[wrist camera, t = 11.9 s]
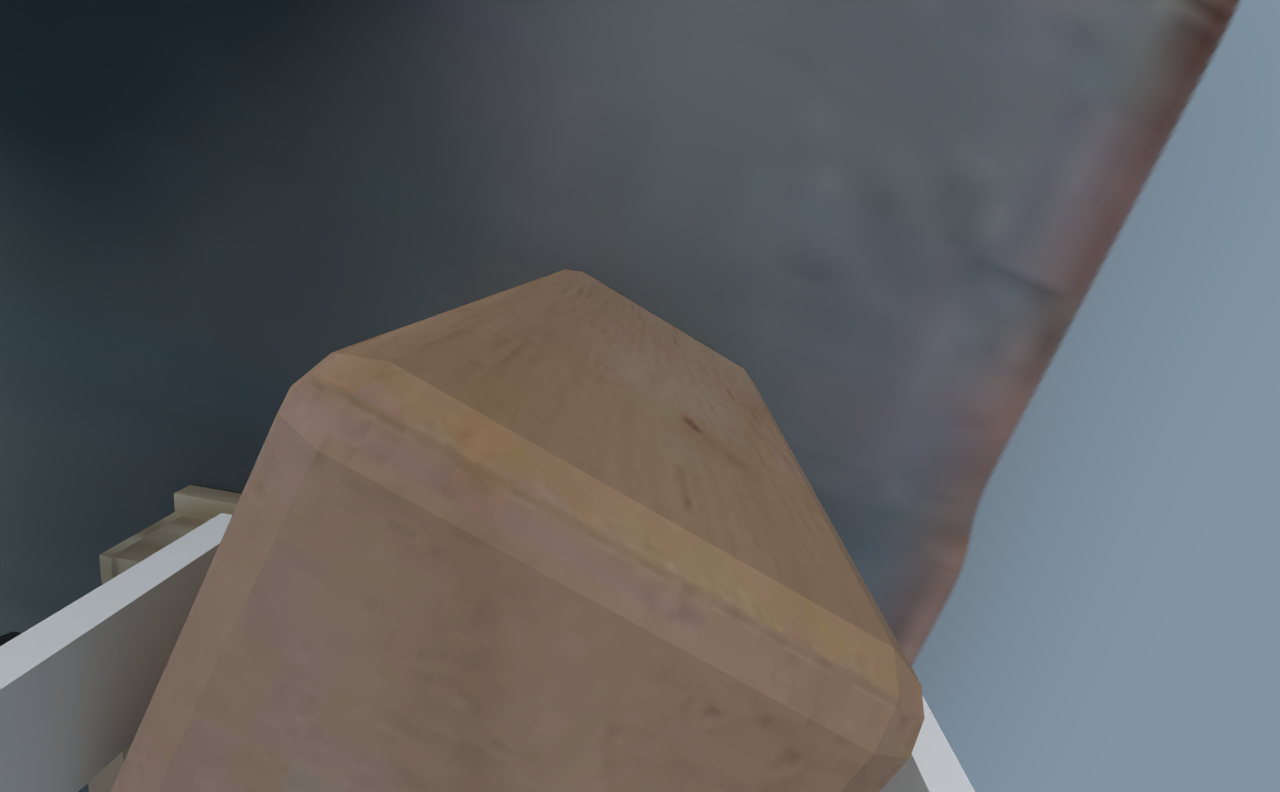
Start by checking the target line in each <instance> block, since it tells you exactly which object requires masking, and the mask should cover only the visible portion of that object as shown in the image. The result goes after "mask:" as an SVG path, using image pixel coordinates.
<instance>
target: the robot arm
mask: <svg viewBox="0 0 1280 792" xmlns="http://www.w3.org/2000/svg"><path fill="white" fill-rule="evenodd" d="M231 517H232V515H231V514H225V513H221V514H219V515H217V516H216V517H214V518H212V519H211V520H209V521H207V522H206V523H204V524H202V525H201V526H199V527H197V528H196V529H194V530H192V531H191V532H189V533H187V534H186V535H184V536H182V537H181V538H179V539H178V540H176V541H174V542H173V543H171V544H169V545H168V546H166V547H164V548H163V549H161V550H159V551H158V552H156V553H154V554H153V555H151V556H149V557H148V558H146V559H144V560H143V561H141V562H139V563H138V564H136V565H134V566H133V567H131V568H129V569H128V570H126V571H124V572H123V573H121V574H119V575H118V576H116V577H115V578H113V579H111V580H110V581H108V582H106V583H105V584H103V585H101V586H100V587H98V588H96V589H95V590H93V591H91V592H90V593H88V594H86V595H85V596H83V597H81V598H80V599H78V600H76V601H75V602H73V603H71V604H70V605H68V606H66V607H65V608H63V609H61V610H60V611H58V612H56V613H55V614H53V615H52V616H50V617H48V618H47V619H45V620H43V621H42V622H40V623H38V624H37V625H35V626H33V627H32V628H30V629H28V630H27V631H25V632H23V633H19V632H10V633H8V634H5V635H3V636H0V792H79V791H80V790H81V789H82V788H83V787H84V786H85V785H86V784H87V783H88V782H90V781H91V780H92V779H93V778H94V777H95V776H96V775H97V774H98V773H99V772H100V771H101V770H102V769H104V768H105V767H106V766H107V765H108V764H109V763H110V762H111V761H112V760H113V759H114V758H115V757H116V756H118V755H119V754H120V753H121V752H122V751H123V750H124V749H125V748H126V747H127V746H128V745H129V744H131V743H132V742H133V740H134V738H135V735H136V733H137V731H138V728H139V726H140V724H141V722H142V719H143V717H144V715H145V713H146V710H147V708H148V706H149V703H150V701H151V699H152V697H153V694H154V692H155V690H156V688H157V685H158V683H159V681H160V678H161V676H162V674H163V672H164V669H165V667H166V665H167V663H168V660H169V658H170V656H171V653H172V651H173V649H174V647H175V644H176V642H177V640H178V638H179V635H180V633H181V631H182V629H183V626H184V624H185V622H186V619H187V617H188V615H189V613H190V610H191V608H192V606H193V604H194V601H195V599H196V597H197V594H198V592H199V590H200V588H201V585H202V583H203V581H204V579H205V576H206V574H207V572H208V569H209V567H210V565H211V563H212V560H213V558H214V556H215V554H216V551H217V549H218V547H219V544H220V542H221V540H222V538H223V535H224V533H225V531H226V529H227V526H228V524H229V522H230V520H231ZM922 698H923V696H922ZM923 708H924V717H925V719H924V721H923V724H922V727H921V729H920V732H919V735H918V738H917V740H916V743H915V746H914V748H913V751H912V754H911V757H910V759H909V760H908V761H907V762H906V764H905V765H904V766H903V767H902V768H901V769H900V770H899V771H898V772H897V773H896V774H895V775H894V776H893V777H892V779H891V780H890V781H889V782H888V783H887V784H886V785H885V786H884V787H883V788H882V789H881V790H880V791H879V792H975V791H974V789H973V787H972V785H971V784H970V782H969V780H968V778H967V776H966V775H965V773H964V771H963V769H962V767H961V766H960V763H959V762H958V760H957V758H956V756H955V754H954V752H953V751H952V749H951V747H950V745H949V743H948V742H947V740H946V738H945V736H944V734H943V733H942V731H941V729H940V727H939V725H938V723H937V721H936V720H935V718H934V716H933V714H932V712H931V711H930V709H929V707H928V705H927V703H926V701H925V700H924V698H923Z"/></svg>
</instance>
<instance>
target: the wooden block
mask: <svg viewBox="0 0 1280 792" xmlns="http://www.w3.org/2000/svg"><path fill="white" fill-rule="evenodd" d="M924 719H925V717H924V708H923V698H922V689H921V684H920V682H919V680H918V678H917V677H916V675H915V673H914V671H913V669H912V667H911V666H910V664H909V662H908V660H907V658H906V657H905V655H904V653H903V651H902V649H901V648H900V646H899V644H898V642H897V640H896V639H895V637H894V635H893V633H892V631H891V630H890V628H889V626H888V624H887V622H886V620H885V619H884V617H883V615H882V613H881V611H880V610H879V608H878V606H877V604H876V602H875V601H874V599H873V597H872V595H871V593H870V592H869V590H868V588H867V586H866V584H865V583H864V581H863V579H862V577H861V575H860V574H859V572H858V570H857V568H856V566H855V564H854V563H853V561H852V559H851V557H850V555H849V554H848V552H847V550H846V548H845V546H844V545H843V543H842V541H841V539H840V537H839V536H838V534H837V532H836V530H835V528H834V527H833V525H832V523H831V521H830V519H829V518H828V516H827V514H826V512H825V510H824V508H823V507H822V505H821V503H820V501H819V499H818V498H817V496H816V494H815V492H814V490H813V489H812V487H811V485H810V483H809V481H808V480H807V478H806V476H805V474H804V472H803V471H802V469H801V467H800V465H799V463H798V462H797V460H796V458H795V456H794V454H793V452H792V451H791V449H790V447H789V445H788V443H787V442H786V440H785V438H784V436H783V434H782V433H781V431H780V429H779V427H778V425H777V424H776V422H775V420H774V418H773V416H772V415H771V413H770V411H769V409H768V407H767V406H766V404H765V402H764V400H763V398H762V397H761V395H760V393H759V391H758V389H757V387H756V386H755V384H754V382H753V381H752V379H751V378H750V377H749V375H748V374H747V372H746V371H745V370H744V369H743V368H742V367H740V366H738V365H737V364H735V363H733V362H732V361H730V360H728V359H727V358H725V357H723V356H722V355H720V354H718V353H717V352H715V351H713V350H712V349H710V348H708V347H707V346H705V345H704V344H702V343H700V342H699V341H697V340H695V339H694V338H692V337H690V336H689V335H687V334H685V333H684V332H682V331H680V330H679V329H677V328H675V327H674V326H672V325H670V324H669V323H667V322H665V321H664V320H662V319H661V318H659V317H657V316H656V315H654V314H652V313H651V312H649V311H647V310H646V309H644V308H642V307H641V306H639V305H637V304H636V303H634V302H632V301H631V300H629V299H627V298H626V297H624V296H622V295H621V294H619V293H617V292H616V291H614V290H613V289H611V288H609V287H608V286H606V285H604V284H603V283H601V282H599V281H598V280H596V279H594V278H593V277H591V276H589V275H588V274H586V273H584V272H581V271H574V270H568V269H564V270H562V271H559V272H556V273H553V274H550V275H548V276H545V277H542V278H539V279H536V280H534V281H531V282H528V283H525V284H522V285H519V286H517V287H514V288H511V289H508V290H505V291H503V292H500V293H497V294H494V295H491V296H489V297H486V298H483V299H480V300H477V301H475V302H472V303H469V304H466V305H463V306H461V307H458V308H455V309H452V310H449V311H447V312H444V313H441V314H438V315H435V316H433V317H430V318H427V319H424V320H421V321H419V322H416V323H413V324H410V325H407V326H405V327H402V328H399V329H396V330H393V331H391V332H388V333H385V334H382V335H379V336H376V337H374V338H371V339H368V340H365V341H362V342H360V343H357V344H354V345H351V346H348V347H346V348H343V349H340V350H337V351H334V352H332V353H330V354H329V355H328V356H327V357H325V358H324V359H323V360H322V361H321V362H319V363H318V364H317V365H316V366H315V367H313V368H312V369H311V370H310V371H309V372H307V373H306V374H305V375H304V376H303V377H301V378H300V379H299V380H298V381H297V382H295V383H294V384H293V385H292V386H291V387H290V389H289V391H288V393H287V395H286V397H285V399H284V401H283V403H282V405H281V407H280V409H279V411H278V413H277V415H276V417H275V420H274V422H273V424H272V426H271V429H270V431H269V433H268V436H267V438H266V440H265V442H264V445H263V447H262V449H261V451H260V454H259V456H258V458H257V460H256V463H255V465H254V467H253V470H252V472H251V474H250V476H249V479H248V481H247V483H246V485H245V488H244V490H243V492H242V495H241V497H240V499H239V501H238V504H237V506H236V508H235V510H234V513H233V515H232V517H231V520H230V522H229V524H228V526H227V529H226V531H225V533H224V535H223V538H222V540H221V542H220V544H219V547H218V549H217V551H216V554H215V556H214V558H213V560H212V563H211V565H210V567H209V569H208V572H207V574H206V576H205V579H204V581H203V583H202V585H201V588H200V590H199V592H198V594H197V597H196V599H195V601H194V604H193V606H192V608H191V610H190V613H189V615H188V617H187V619H186V622H185V624H184V626H183V629H182V631H181V633H180V635H179V638H178V640H177V642H176V644H175V647H174V649H173V651H172V653H171V656H170V658H169V660H168V663H167V665H166V667H165V669H164V672H163V674H162V676H161V678H160V681H159V683H158V685H157V688H156V690H155V692H154V694H153V697H152V699H151V701H150V703H149V706H148V708H147V710H146V713H145V715H144V717H143V719H142V722H141V724H140V726H139V728H138V731H137V733H136V735H135V738H134V740H133V742H132V744H131V747H130V749H129V751H128V753H127V756H126V758H125V760H124V762H123V765H122V767H121V769H120V772H119V774H118V776H117V778H116V781H115V783H114V785H113V787H112V790H111V792H879V791H880V790H881V789H882V788H883V787H884V786H885V785H886V784H887V783H888V782H889V781H890V780H891V779H892V777H893V776H894V775H895V774H896V773H897V772H898V771H899V770H900V769H901V768H902V767H903V766H904V765H905V764H906V762H907V761H908V760H909V759H910V757H911V754H912V751H913V748H914V746H915V743H916V740H917V738H918V735H919V732H920V729H921V727H922V724H923V721H924Z"/></svg>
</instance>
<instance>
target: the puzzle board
mask: <svg viewBox="0 0 1280 792" xmlns="http://www.w3.org/2000/svg"><path fill="white" fill-rule="evenodd" d="M241 495H242V494H240V493H234V492H228V491H222V490H216V489H211V488H205V487H199V486H193V485H189V486H187V487H185V488H183V489H181V490H179V491H177V492H175V493H174V507H175V512H174V513H172V514H170V515H169V516H167V517H165V518H163V519H162V520H160V521H158V522H156V523H155V524H153V525H151V526H149V527H147V528H146V529H144V530H142V531H140V532H139V533H137V534H135V535H133V536H132V537H130V538H128V539H126V540H124V541H123V542H121V543H119V544H117V545H116V546H114V547H112V548H110V549H109V550H107V551H105V552H103V553H101V554H100V555H99V560H100V571H101V582H102V585H103V584H105V583H106V582H108V581H110V580H111V579H113V578H115V577H116V576H118V575H119V574H121V573H123V572H124V571H126V570H128V569H129V568H131V567H133V566H134V565H136V564H138V563H139V562H141V561H143V560H144V559H146V558H148V557H149V556H151V555H153V554H154V553H156V552H158V551H159V550H161V549H163V548H164V547H166V546H168V545H169V544H171V543H173V542H174V541H176V540H178V539H179V538H181V537H182V536H184V535H186V534H187V533H189V532H191V531H192V530H194V529H196V528H197V527H199V526H201V525H202V524H204V523H206V522H207V521H209V520H211V519H212V518H214V517H216V516H217V515H219V514H221V513H225V514H231V515H233V513H234V510H235V508H236V506H237V504H238V501H239V499H240V497H241Z"/></svg>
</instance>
